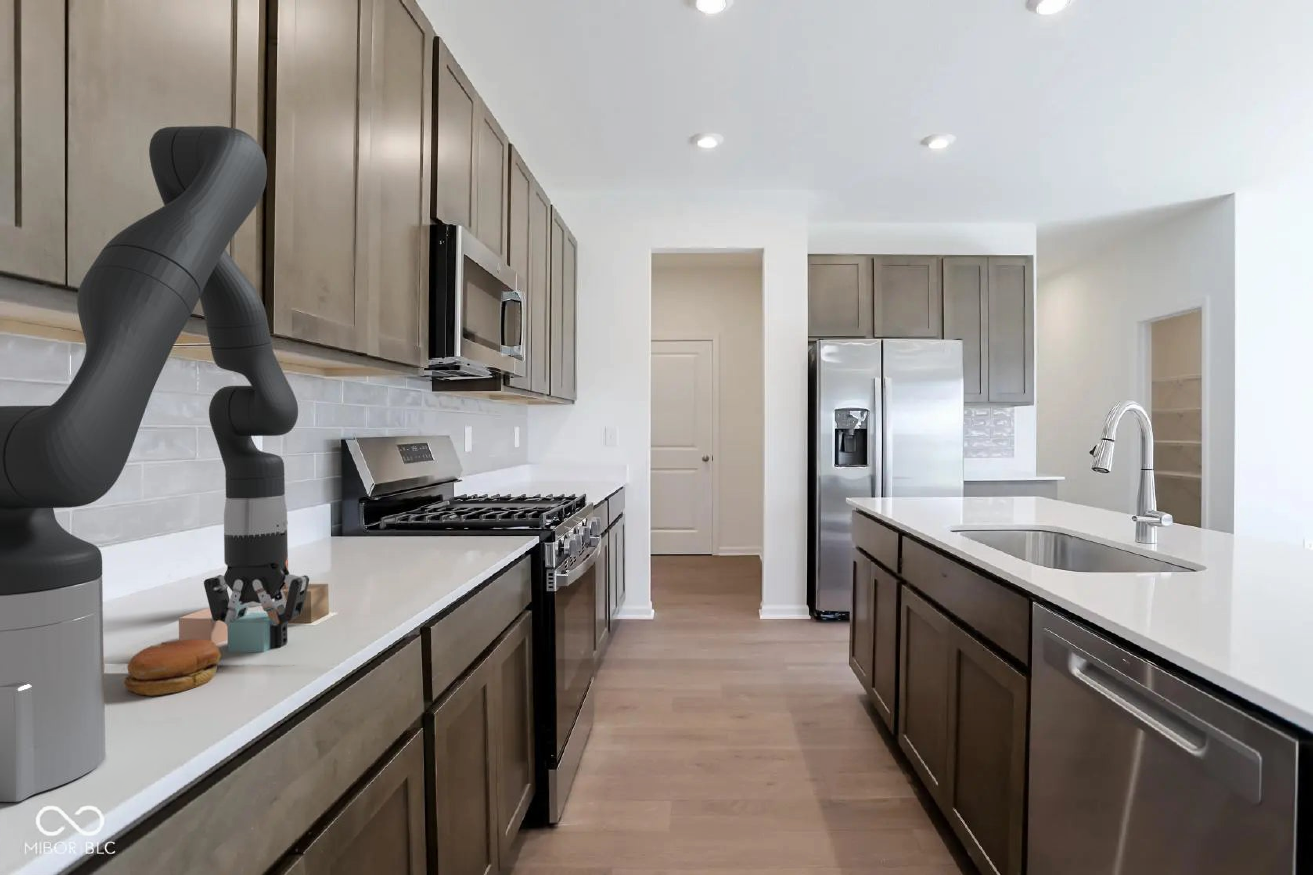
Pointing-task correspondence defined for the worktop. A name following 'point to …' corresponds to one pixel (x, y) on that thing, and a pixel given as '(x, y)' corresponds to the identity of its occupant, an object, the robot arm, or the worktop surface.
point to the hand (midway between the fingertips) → (258, 649)
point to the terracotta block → (202, 627)
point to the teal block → (249, 633)
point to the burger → (172, 667)
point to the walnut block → (313, 604)
